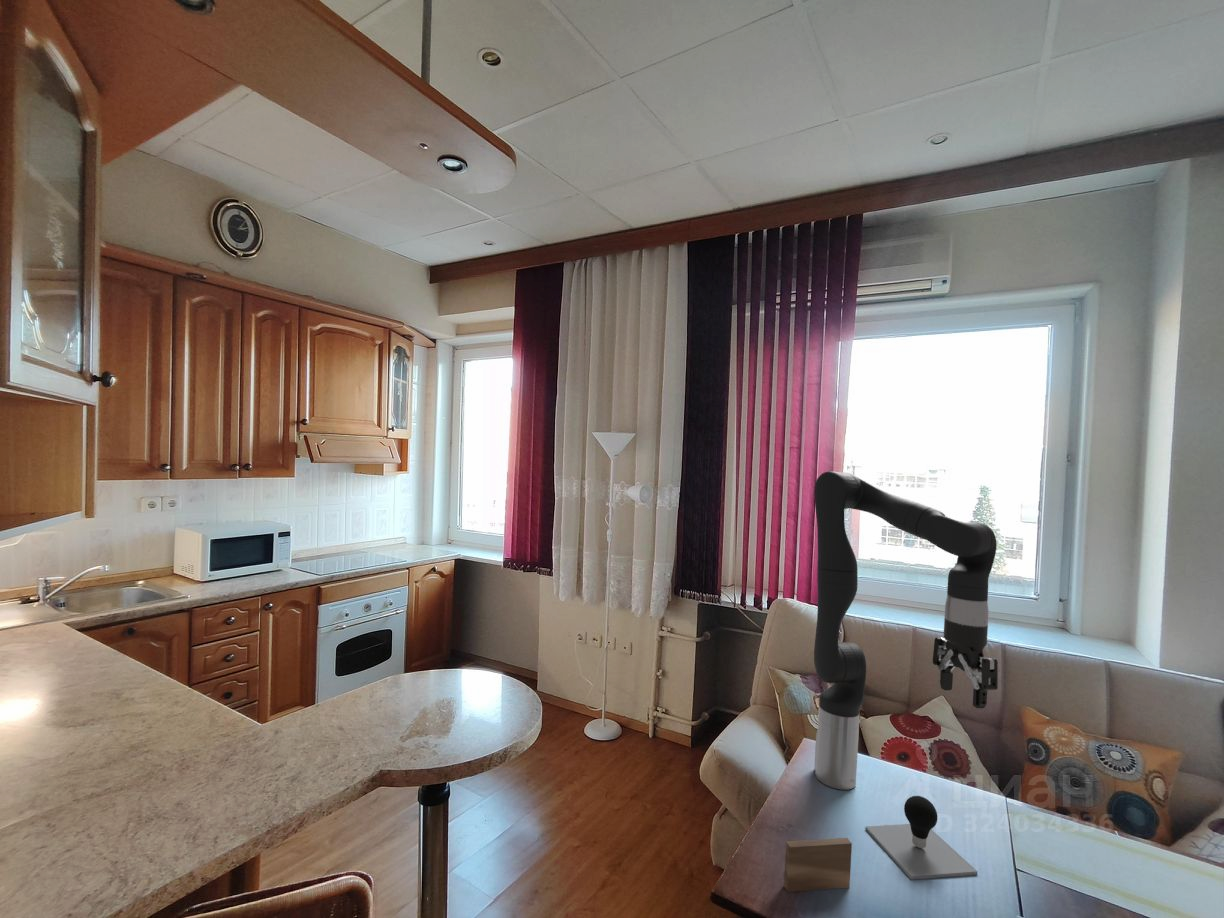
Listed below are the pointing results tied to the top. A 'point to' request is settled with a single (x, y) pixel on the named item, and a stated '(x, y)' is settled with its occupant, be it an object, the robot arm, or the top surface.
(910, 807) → the light bulb
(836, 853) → the wooden toy block
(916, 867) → the rubber mat
